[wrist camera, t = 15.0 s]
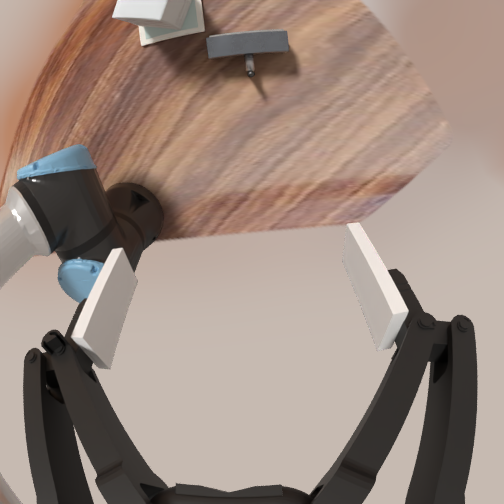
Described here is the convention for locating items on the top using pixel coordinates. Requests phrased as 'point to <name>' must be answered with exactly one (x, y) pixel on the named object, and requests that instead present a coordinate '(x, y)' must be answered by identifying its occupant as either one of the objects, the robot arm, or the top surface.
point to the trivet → (190, 26)
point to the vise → (247, 45)
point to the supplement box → (153, 12)
